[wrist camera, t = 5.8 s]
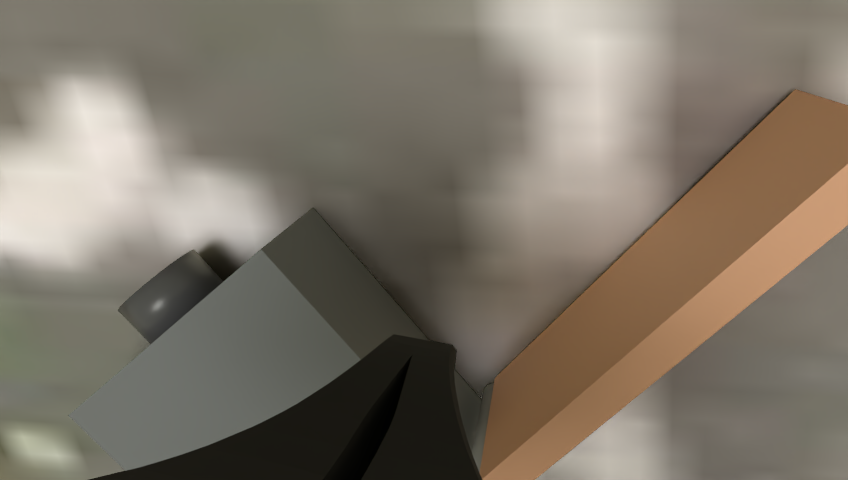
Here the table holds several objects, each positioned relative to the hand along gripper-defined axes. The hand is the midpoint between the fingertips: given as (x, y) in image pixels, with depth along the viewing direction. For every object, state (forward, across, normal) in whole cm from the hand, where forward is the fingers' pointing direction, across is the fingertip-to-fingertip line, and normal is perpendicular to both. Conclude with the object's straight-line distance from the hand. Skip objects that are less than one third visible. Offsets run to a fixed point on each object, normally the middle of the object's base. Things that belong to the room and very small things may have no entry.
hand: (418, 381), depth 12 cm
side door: (+8, -5, +1) cm, 10 cm away
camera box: (+9, +6, +7) cm, 13 cm away
